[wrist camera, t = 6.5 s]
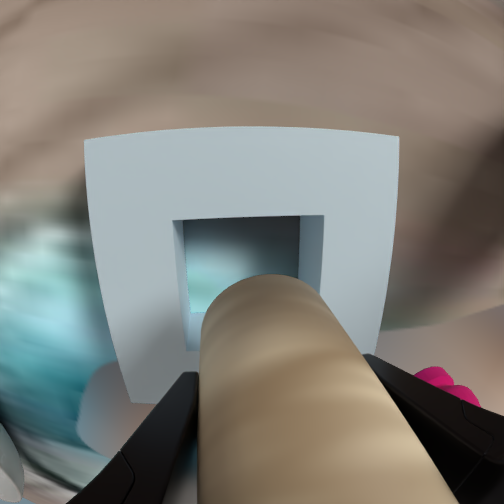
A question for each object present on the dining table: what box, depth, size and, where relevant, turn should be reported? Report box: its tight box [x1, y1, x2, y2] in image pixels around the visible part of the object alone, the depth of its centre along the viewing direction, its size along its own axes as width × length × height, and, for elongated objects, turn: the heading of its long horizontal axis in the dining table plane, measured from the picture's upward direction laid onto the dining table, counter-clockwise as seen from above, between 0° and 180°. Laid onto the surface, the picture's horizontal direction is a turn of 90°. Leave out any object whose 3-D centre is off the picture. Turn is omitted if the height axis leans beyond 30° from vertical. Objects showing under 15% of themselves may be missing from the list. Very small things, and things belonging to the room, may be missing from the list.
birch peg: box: [197, 274, 459, 504], centre depth 6 cm, size 4×4×8 cm
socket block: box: [84, 127, 399, 404], centre depth 16 cm, size 14×14×4 cm
